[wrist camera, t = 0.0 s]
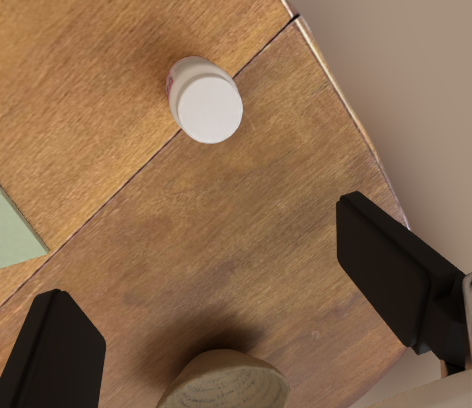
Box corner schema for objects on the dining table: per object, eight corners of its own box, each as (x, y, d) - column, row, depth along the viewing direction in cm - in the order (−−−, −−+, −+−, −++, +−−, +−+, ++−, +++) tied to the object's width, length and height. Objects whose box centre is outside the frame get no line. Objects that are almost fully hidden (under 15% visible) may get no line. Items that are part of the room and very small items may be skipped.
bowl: (127, 349, 39) (122, 415, 32) (256, 298, 40) (277, 352, 33) (178, 406, 49) (183, 465, 43) (280, 364, 50) (299, 415, 44)
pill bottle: (154, 68, 23) (156, 87, 16) (210, 45, 23) (235, 54, 16) (179, 124, 26) (190, 160, 19) (229, 103, 26) (258, 132, 19)
